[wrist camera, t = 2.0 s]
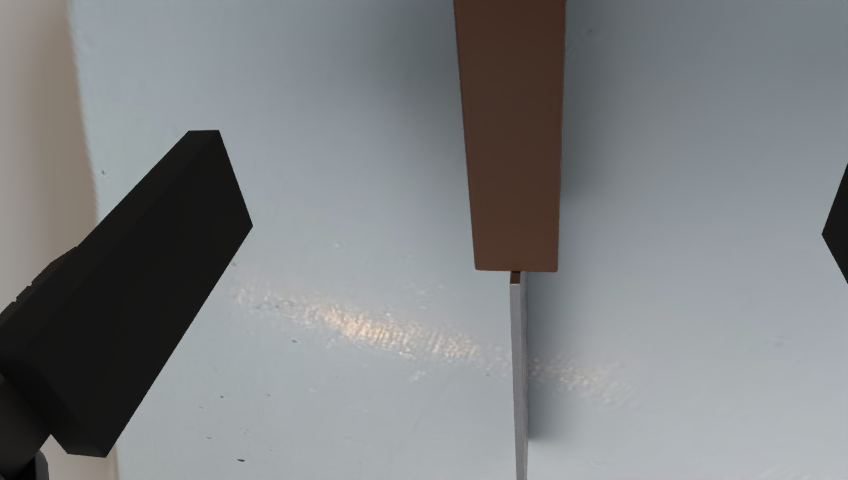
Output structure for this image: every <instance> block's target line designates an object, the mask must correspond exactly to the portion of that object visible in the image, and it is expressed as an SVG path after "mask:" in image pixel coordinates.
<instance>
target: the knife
mask: <svg viewBox="0 0 848 480" xmlns="http://www.w3.org/2000/svg"><path fill="white" fill-rule="evenodd" d="M453 7H454V19H455V31H456V44H457V56H458V68H459V80H460V92H461V104H462V116H463V129H464V141H465V153H466V165H467V177H468V189H469V201H470V213H471V226H472V238H473V250H474V262H475V268H476V270H487V271H511V274H510V308H511V336H512V364H513V392H514V420H515V448H516V476H517V480H527V461H528V371H527V287H526V272H557V270H558V247H559V215H560V184H561V152H562V120H563V88H564V56H565V24H566V0H453Z"/></svg>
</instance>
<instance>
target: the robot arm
mask: <svg viewBox="0 0 848 480" xmlns="http://www.w3.org/2000/svg"><path fill="white" fill-rule="evenodd" d="M252 227H253V224H252V222H251V219H250V216H249V213H248V210H247V208H246V205H245V202H244V199H243V196H242V193H241V191H240V188H239V185H238V182H237V179H236V177H235V174H234V171H233V168H232V165H231V163H230V160H229V157H228V154H227V151H226V149H225V146H224V143H223V140H222V137H221V135H220V132H219V130H196V131H188V132H187V133H186V134H185V135H184V136H183V137H182V138H181V139H180V140H179V141H178V142H177V143H176V144H175V145H174V147H173V148H172V149H171V150H170V151H169V152H168V153H167V154H166V155H165V156H164V157H163V158H162V159H161V160H160V161H159V162H158V163H157V164H156V165H155V166H154V167H153V168H152V169H151V170H150V171H149V173H148V174H147V175H146V176H145V177H144V178H143V179H142V180H141V181H140V182H139V183H138V184H137V185H136V186H135V187H134V188H133V189H132V190H131V191H130V192H129V193H128V194H127V195H126V196H125V197H124V199H123V200H122V201H121V202H120V203H119V204H118V205H117V206H116V207H115V208H114V209H113V210H112V211H111V212H110V213H109V214H108V215H107V216H106V217H105V218H104V219H103V220H102V221H101V222H100V223H99V225H98V226H97V227H96V228H95V229H94V230H93V231H92V232H91V233H90V234H89V235H88V236H87V237H86V238H85V239H84V240H83V241H82V242H81V243H80V244H79V245H78V246H77V247H74V248H72V249H71V250H70V251H68V252H66V253H65V254H63V255H62V256H60V257H59V258H57V259H56V260H54V261H53V262H51V263H50V264H49V265H48V266H47V267H46V268H45V269H44V270H43V271H42V272H41V273H40V274H39V275H38V276H37V277H36V278H35V279H34V280H33V281H32V285H31V286H27V287H26V288H25V289H24V290H23V291H22V292H21V293H20V294H19V295H18V296H17V297H16V298H17V300H16V302H11V303H10V304H9V305H8V306H7V307H6V308H5V309H4V311H2V313H1V314H0V480H49V473H48V463H47V461H46V458H45V456H44V454H43V453H42V452H41V451H40V450H39V449H40V448H41V447H42V445H43V444H44V442H45V441H46V440H47V438H48V437H49V436H50V434H51V435H52V436H53V437H54V438H55V439H56V441H57V442H58V443H59V444H60V445H61V447H62V448H63V449H64V450H65V451H66V453H67V454H74V455H84V456H93V457H102V458H106V456H107V455H108V453H109V452H110V450H111V449H112V447H113V445H114V444H115V442H116V441H117V439H118V438H119V436H120V434H121V433H122V431H123V430H124V428H125V427H126V425H127V423H128V422H129V420H130V419H131V417H132V416H133V414H134V412H135V411H136V409H137V408H138V406H139V405H140V403H141V401H142V400H143V398H144V397H145V395H146V394H147V392H148V390H149V389H150V387H151V386H152V384H153V383H154V381H155V379H156V378H157V376H158V375H159V373H160V372H161V370H162V368H163V367H164V365H165V364H166V362H167V361H168V359H169V357H170V356H171V354H172V353H173V351H174V350H175V348H176V346H177V345H178V343H179V342H180V340H181V339H182V337H183V335H184V334H185V332H186V331H187V329H188V328H189V326H190V324H191V323H192V321H193V320H194V318H195V317H196V315H197V313H198V312H199V310H200V309H201V307H202V306H203V304H204V302H205V301H206V299H207V298H208V296H209V295H210V293H211V291H212V290H213V288H214V287H215V285H216V284H217V282H218V280H219V279H220V277H221V276H222V274H223V273H224V271H225V269H226V268H227V266H228V265H229V263H230V262H231V260H232V258H233V257H234V255H235V254H236V252H237V251H238V249H239V247H240V246H241V244H242V243H243V241H244V240H245V238H246V236H247V235H248V233H249V232H250V230H251V229H252ZM822 236H823V238H824V240H825V242H826V244H827V246H828V248H829V249H830V251H831V253H832V255H833V257H834V259H835V261H836V262H837V264H838V266H839V268H840V270H841V272H842V274H843V275H844V277H845V279H846V281H847V283H848V164H847V167H846V169H845V172H844V175H843V177H842V180H841V183H840V186H839V188H838V191H837V194H836V197H835V199H834V202H833V205H832V207H831V210H830V213H829V216H828V218H827V221H826V224H825V227H824V229H823V232H822Z"/></svg>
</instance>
